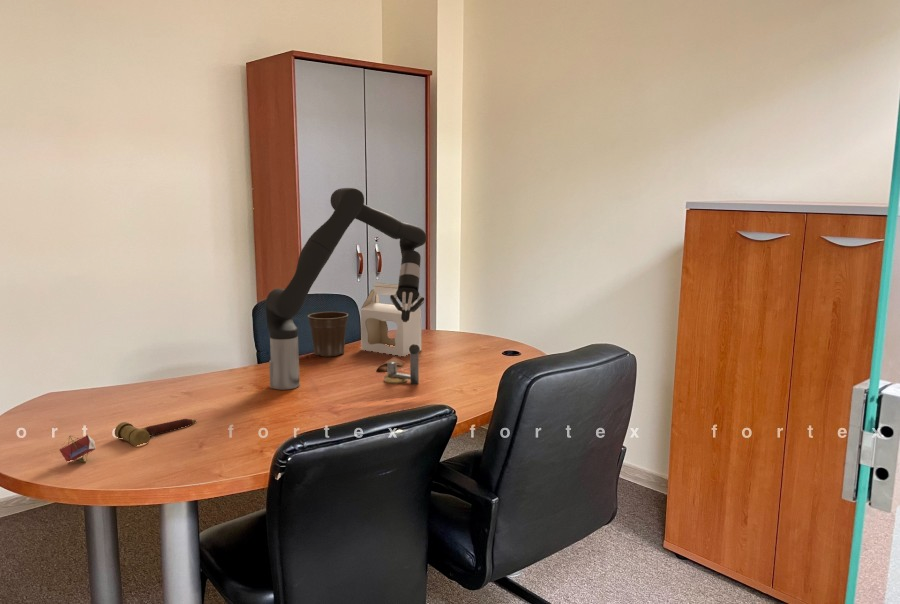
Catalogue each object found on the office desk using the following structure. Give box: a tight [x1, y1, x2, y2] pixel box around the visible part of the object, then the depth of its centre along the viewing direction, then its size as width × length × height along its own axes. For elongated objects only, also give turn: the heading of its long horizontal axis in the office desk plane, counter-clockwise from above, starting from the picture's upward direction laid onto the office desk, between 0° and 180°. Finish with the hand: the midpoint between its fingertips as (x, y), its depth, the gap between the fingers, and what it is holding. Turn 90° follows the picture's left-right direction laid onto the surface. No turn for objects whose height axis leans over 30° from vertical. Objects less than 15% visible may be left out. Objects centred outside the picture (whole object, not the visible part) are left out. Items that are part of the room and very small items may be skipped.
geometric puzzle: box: [59, 434, 96, 463], centre depth 167 cm, size 7×7×8 cm
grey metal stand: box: [383, 344, 421, 385], centre depth 232 cm, size 13×8×14 cm, turn 62°
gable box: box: [360, 282, 422, 357], centre depth 282 cm, size 22×13×28 cm, turn 58°
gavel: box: [114, 418, 197, 447], centre depth 187 cm, size 21×5×10 cm
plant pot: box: [307, 311, 349, 358], centre depth 277 cm, size 16×16×16 cm
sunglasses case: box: [376, 355, 408, 373], centre depth 253 cm, size 18×7×7 cm
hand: (405, 321), depth 243 cm, fingers closed
